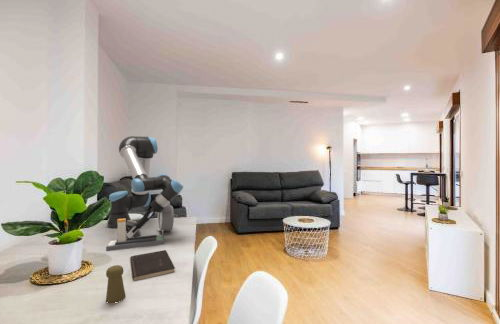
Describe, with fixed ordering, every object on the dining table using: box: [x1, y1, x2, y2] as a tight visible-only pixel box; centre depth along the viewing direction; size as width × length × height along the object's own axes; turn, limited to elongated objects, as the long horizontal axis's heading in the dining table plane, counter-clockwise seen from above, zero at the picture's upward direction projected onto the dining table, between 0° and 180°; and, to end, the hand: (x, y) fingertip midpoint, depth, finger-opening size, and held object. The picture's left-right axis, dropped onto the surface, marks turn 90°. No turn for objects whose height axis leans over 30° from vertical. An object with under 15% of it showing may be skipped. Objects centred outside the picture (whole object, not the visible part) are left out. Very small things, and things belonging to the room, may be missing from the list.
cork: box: [105, 264, 126, 304], centre depth 87 cm, size 6×6×11 cm
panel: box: [105, 234, 165, 252], centre depth 141 cm, size 10×28×3 cm, turn 108°
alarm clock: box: [157, 204, 175, 235], centre depth 164 cm, size 16×9×22 cm, turn 27°
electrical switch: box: [126, 220, 142, 237], centre depth 157 cm, size 9×5×9 cm, turn 57°
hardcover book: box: [129, 249, 176, 282], centre depth 114 cm, size 16×23×2 cm
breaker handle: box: [117, 218, 127, 242], centre depth 139 cm, size 4×4×12 cm
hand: (128, 236), depth 140 cm, fingers closed
